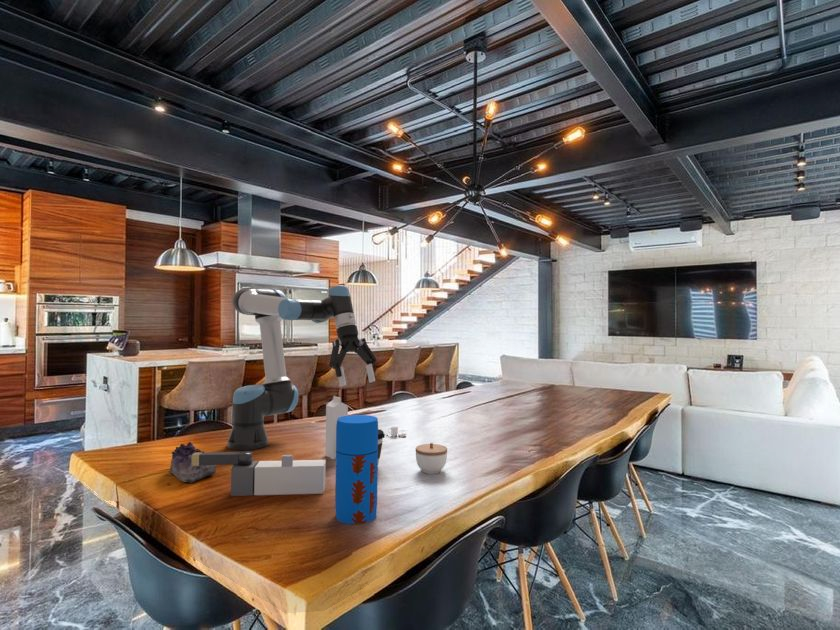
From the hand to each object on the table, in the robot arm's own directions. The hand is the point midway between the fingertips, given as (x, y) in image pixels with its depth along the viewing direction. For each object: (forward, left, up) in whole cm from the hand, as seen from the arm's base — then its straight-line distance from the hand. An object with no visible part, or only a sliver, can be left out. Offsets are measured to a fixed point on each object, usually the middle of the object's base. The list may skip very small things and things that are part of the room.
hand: (358, 383), depth 165 cm
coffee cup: (+5, +4, -28) cm, 29 cm away
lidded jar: (+11, +25, -28) cm, 39 cm away
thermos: (+45, +1, -28) cm, 53 cm away
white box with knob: (+26, -22, -28) cm, 44 cm away
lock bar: (+26, -38, -20) cm, 50 cm away
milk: (-8, -8, -28) cm, 30 cm away
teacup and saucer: (-34, +16, -29) cm, 47 cm away
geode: (+9, -54, -28) cm, 62 cm away
